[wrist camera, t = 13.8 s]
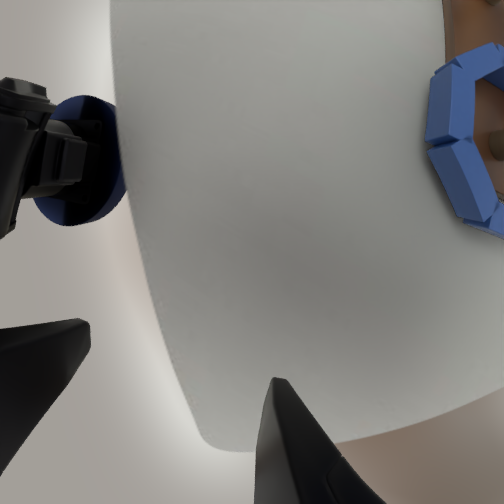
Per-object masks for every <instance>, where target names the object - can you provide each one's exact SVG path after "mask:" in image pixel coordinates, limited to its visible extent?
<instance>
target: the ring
mask: <svg viewBox="0 0 504 504" xmlns="http://www.w3.org/2000/svg"><path fill="white" fill-rule="evenodd" d="M434 73H435V76H433V77H432V78H431V79H430V95H429V107H428V117H427V126H426V134H425V142H427V143H430V144H432V145H434V147H432V148H431V149H429V150H428V151H427V154H428V156H429V158H430V159H431V161H432V163H433V165H434V167H435V169H436V171H437V173H438V175H439V177H440V179H441V182H442V184H443V186H444V188H445V190H446V192H447V194H448V197H449V199H450V201H451V204H452V206H453V208H454V211H455V213H456V215H457V217H462V218H464V219H463V223H464V224H467V225H470V226H472V227H475V228H477V229H480V230H482V231H485V232H487V233H490V234H492V235H495V236H497V237H499V238H502V239H504V204H502V203H500V202H499V201H498V198H497V195H496V192H495V190H494V187H493V184H492V182H491V179H490V177H489V174H488V172H487V169H486V167H485V165H484V162H483V160H482V158H481V156H480V153H479V151H478V149H477V147H476V145H475V143H474V141H473V130H474V114H475V81H477V80H478V79H480V78H484V79H485V80H487V81H489V82H490V83H492V84H493V85H495V86H496V87H498V88H499V89H501V90H502V91H504V47H503V46H501V45H500V44H497V45H494V44H493V42H490V43H487V44H485V45H482V46H480V47H477V48H475V49H472V50H470V51H468V52H465V53H463V54H461V55H458V56H456V57H454V58H453V59H451V60H450V61H449V62H447V63H446V64H445V65H443V66H442V67H440V68H439V69H438V70H436V71H435V72H434Z"/></svg>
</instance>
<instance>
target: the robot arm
mask: <svg viewBox="0 0 504 504" xmlns="http://www.w3.org/2000/svg"><path fill="white" fill-rule="evenodd" d="M56 107H57V106H56V105H54V104H52V103H50V100H49V99H47V96H46V88H45V87H43V86H40V85H37V84H34V83H31V82H28V81H24V80H20V79H14V78H9V77H5V78H3V79H2V80H0V239H2V238H3V237H5V235H6V234H8V233H9V232H11V231H12V230H14V229H15V225H16V215H17V211H18V207H19V203H20V200H21V199H25V198H35V197H49V198H54V199H59V200H64V201H69V202H74V203H79V204H89V203H91V201H92V197H93V189H94V182H95V178H96V173H97V167H98V161H99V155H100V150H101V143H102V138H103V133H104V128H105V124H104V122H103V121H100V120H52V119H50V116H51V114H53V113H54V111H55V109H56ZM98 125H100V126H99V128H98V129H97V126H98ZM85 196H87V200H85ZM90 347H91V338H90V325H89V323H88V322H87V321H84V320H82V319H79V318H76V319H69V320H62V321H55V322H48V323H41V324H34V325H27V326H19V327H12V328H4V329H0V476H1V475H2V473H3V471H4V470H5V468H6V467H7V465H8V464H9V462H10V461H11V460H12V458H13V457H14V455H15V454H16V452H17V451H18V450H19V448H20V447H21V446H22V444H23V443H24V441H25V440H26V439H27V437H28V436H29V435H30V433H31V432H32V430H33V429H34V428H35V426H36V425H37V424H38V422H39V421H40V420H41V418H42V417H43V416H44V414H45V413H46V412H47V411H48V409H49V408H50V406H51V405H52V404H53V403H54V402H55V400H56V399H57V398H58V396H59V395H60V394H61V393H62V391H63V390H64V389H65V388H66V386H67V385H68V383H69V382H70V380H71V379H72V377H73V376H74V374H75V372H76V371H77V369H78V367H79V366H80V365H81V363H82V362H83V360H84V358H85V357H86V355H87V354H88V352H89V350H90ZM341 456H342V454H341V453H340V452H339V450H338V449H337V448H336V446H335V445H334V444H333V442H332V441H331V440H330V438H329V437H328V436H327V434H326V433H325V432H324V430H323V429H322V428H321V426H320V425H319V423H318V422H317V421H316V419H315V418H314V417H313V415H312V414H311V413H310V411H309V410H308V408H307V407H306V406H305V404H304V403H303V402H302V400H301V399H300V397H299V396H298V395H297V393H296V392H295V390H294V389H293V388H292V386H291V385H290V383H289V382H288V381H287V380H286V379H282V378H276V377H273V378H272V379H271V382H270V385H269V388H268V391H267V395H266V398H265V401H264V406H263V412H262V417H261V423H260V429H259V434H258V440H257V446H256V465H255V492H254V504H386V503H385V502H384V501H383V500H382V499H381V498H380V497H379V496H378V495H377V494H376V493H375V492H374V491H373V490H372V489H371V488H370V487H369V486H368V485H367V484H366V483H365V482H364V481H363V480H362V479H361V478H360V476H359V475H358V474H357V473H356V472H355V471H354V469H353V468H352V467H351V466H350V464H349V463H348V462H347V461H346V459H345V458H344V457H343V456H342V457H341Z"/></svg>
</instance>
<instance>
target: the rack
mask: <svg viewBox="0 0 504 504" xmlns="http://www.w3.org/2000/svg"><path fill="white" fill-rule="evenodd" d="M442 2H443V13H444V26H445V49H446V63H447V62H449V61H450V60H451V59H453V58H454V57H456V56H458V55H461V54H463V53H465V52H468V51H470V50H472V49H475V48H477V47H480V46H482V45H485V44H487V43H490V42H493V44H494V45H497V44H500V45H501V46H503V47H504V0H442ZM473 141H474V143H475V145H476V147H477V149H478V151H479V153H480V156H481V158H482V160H483V162H484V165H485V167H486V169H487V172H488V174H489V177H490V179H491V182H492V184H493V187H494V190H495V192H496V195H497V197H498V198H500V199H502V200H504V91H502V90H501V89H499V88H498V87H496V86H495V85H493V84H492V83H490V82H489V81H487V80H485V79H484V78H480V79H478V80H477V81H475V114H474V130H473Z"/></svg>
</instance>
